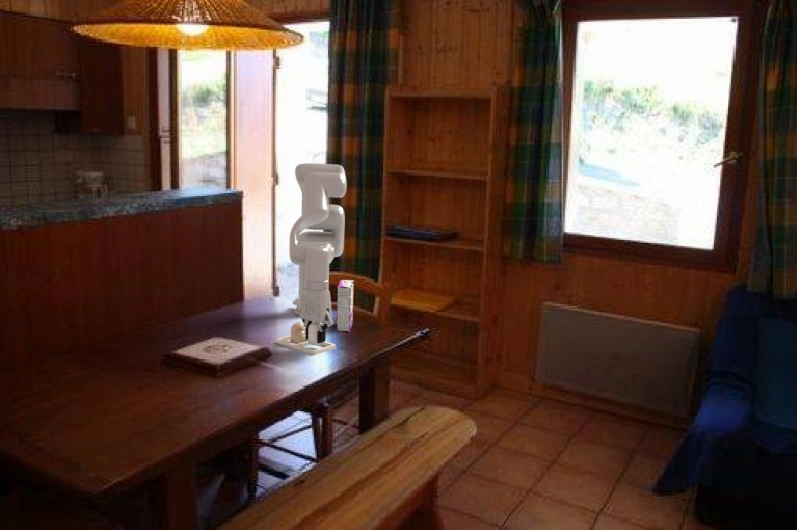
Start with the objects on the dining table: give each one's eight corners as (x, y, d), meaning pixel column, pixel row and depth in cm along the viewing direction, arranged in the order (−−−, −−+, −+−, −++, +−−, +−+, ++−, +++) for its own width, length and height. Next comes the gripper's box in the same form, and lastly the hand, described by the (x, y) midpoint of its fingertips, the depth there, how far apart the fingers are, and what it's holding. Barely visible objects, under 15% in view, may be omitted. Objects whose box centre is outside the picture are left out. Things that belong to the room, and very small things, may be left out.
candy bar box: (339, 323, 264) (340, 279, 261) (352, 323, 264) (354, 280, 261) (335, 331, 253) (337, 286, 250) (350, 332, 253) (351, 287, 250)
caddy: (276, 345, 235) (276, 339, 235) (297, 339, 243) (297, 333, 243) (314, 357, 225) (315, 351, 225) (335, 350, 232) (335, 344, 232)
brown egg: (289, 344, 234) (290, 323, 233) (291, 340, 239) (292, 320, 238) (303, 345, 234) (304, 324, 233) (305, 341, 239) (306, 321, 238)
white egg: (305, 343, 230) (305, 322, 229) (315, 340, 234) (315, 319, 233) (315, 346, 228) (315, 325, 226) (325, 343, 231) (325, 322, 230)
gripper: (289, 282, 229) (288, 337, 233) (327, 291, 219) (326, 349, 223) (306, 279, 235) (304, 332, 239) (344, 288, 225) (342, 343, 229)
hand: (315, 340), depth 231 cm, fingers closed on white egg, 4 cm apart
